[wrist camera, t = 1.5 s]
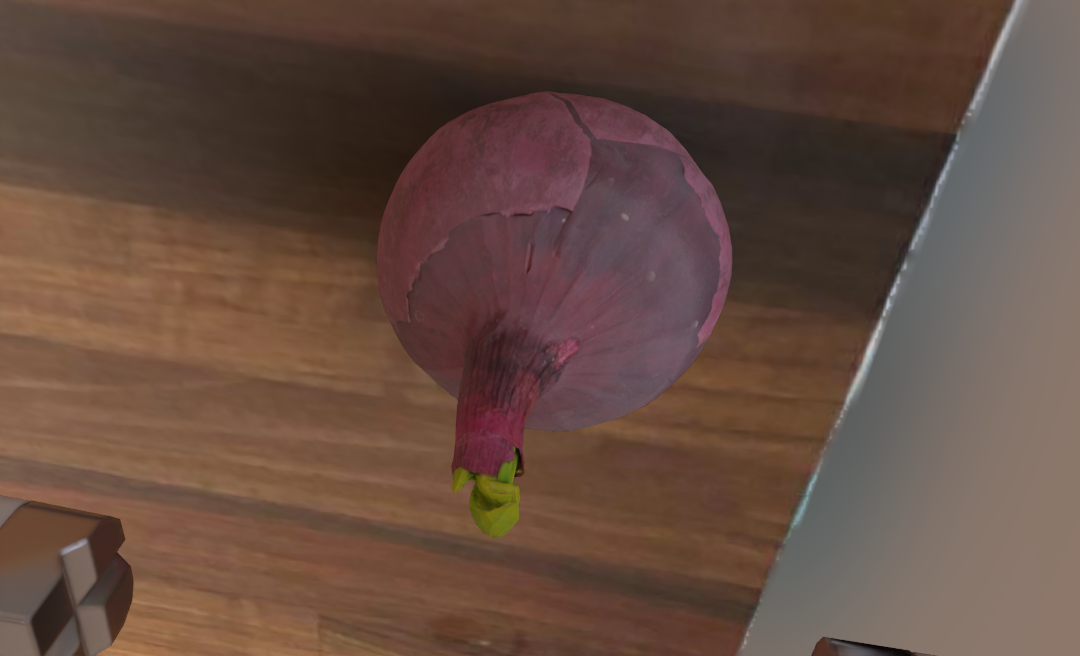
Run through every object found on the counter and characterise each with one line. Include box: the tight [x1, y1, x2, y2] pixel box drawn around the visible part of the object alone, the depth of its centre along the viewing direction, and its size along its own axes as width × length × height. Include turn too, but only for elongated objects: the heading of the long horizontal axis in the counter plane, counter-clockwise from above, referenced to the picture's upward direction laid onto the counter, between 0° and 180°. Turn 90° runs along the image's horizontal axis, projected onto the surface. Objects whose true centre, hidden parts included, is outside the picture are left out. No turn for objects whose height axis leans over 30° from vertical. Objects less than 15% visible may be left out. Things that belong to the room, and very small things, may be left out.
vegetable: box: [376, 91, 732, 537], centre depth 16 cm, size 6×6×10 cm
